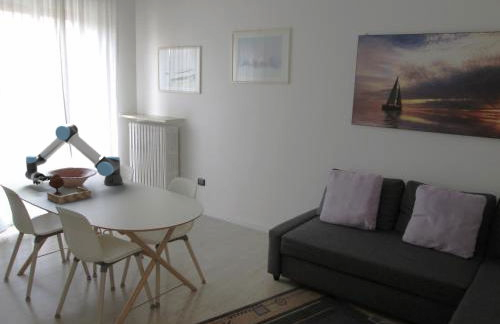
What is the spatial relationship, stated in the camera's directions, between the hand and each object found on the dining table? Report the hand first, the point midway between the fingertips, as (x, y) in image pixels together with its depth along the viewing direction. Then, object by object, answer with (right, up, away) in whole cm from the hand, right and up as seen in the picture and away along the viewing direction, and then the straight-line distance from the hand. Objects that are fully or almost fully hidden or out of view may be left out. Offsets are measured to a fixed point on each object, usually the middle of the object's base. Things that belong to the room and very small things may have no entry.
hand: (51, 181), depth 312 cm
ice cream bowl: (+5, -9, -2) cm, 11 cm away
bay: (+19, -12, -13) cm, 26 cm away
